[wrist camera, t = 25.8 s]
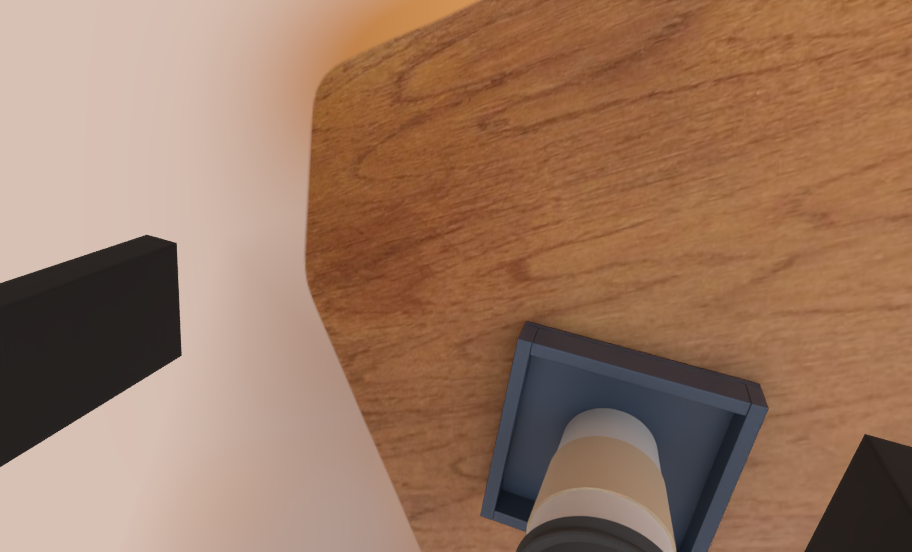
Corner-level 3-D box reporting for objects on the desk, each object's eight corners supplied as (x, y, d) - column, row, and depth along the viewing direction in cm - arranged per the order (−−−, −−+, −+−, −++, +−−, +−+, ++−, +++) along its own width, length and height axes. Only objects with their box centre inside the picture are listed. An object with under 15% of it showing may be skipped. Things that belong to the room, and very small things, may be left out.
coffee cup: (595, 371, 41) (570, 520, 27) (702, 447, 40) (730, 638, 27) (525, 449, 45) (472, 613, 31) (621, 519, 44) (610, 717, 31)
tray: (489, 490, 48) (480, 516, 45) (526, 320, 42) (517, 338, 39) (688, 558, 44) (690, 591, 41) (760, 383, 38) (768, 408, 35)
